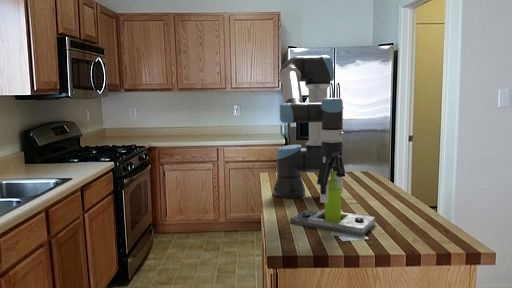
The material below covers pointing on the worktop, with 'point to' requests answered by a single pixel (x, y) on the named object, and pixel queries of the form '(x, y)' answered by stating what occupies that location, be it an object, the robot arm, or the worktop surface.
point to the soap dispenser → (333, 200)
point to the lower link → (303, 220)
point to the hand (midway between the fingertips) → (331, 198)
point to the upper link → (346, 222)
